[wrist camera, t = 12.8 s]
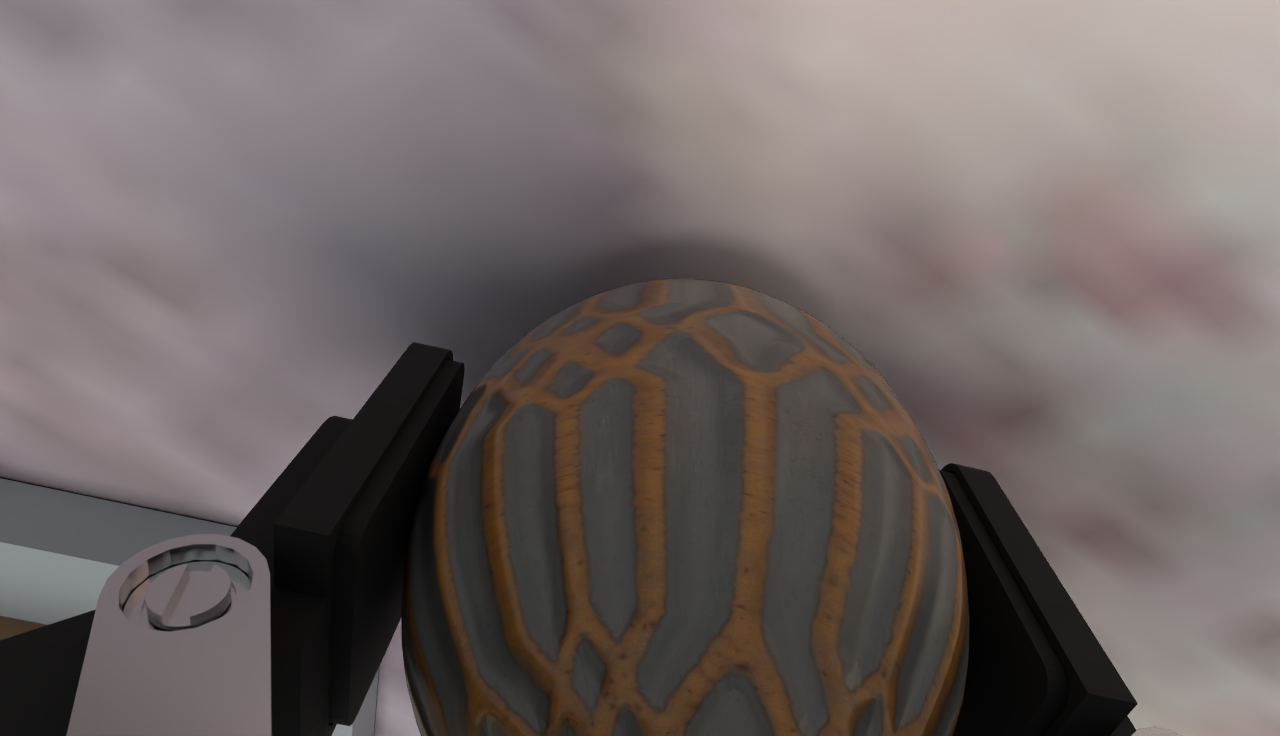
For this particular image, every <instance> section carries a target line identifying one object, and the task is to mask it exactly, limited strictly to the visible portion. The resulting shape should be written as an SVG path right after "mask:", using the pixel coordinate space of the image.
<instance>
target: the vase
mask: <svg viewBox="0 0 1280 736" xmlns="http://www.w3.org/2000/svg"><path fill="white" fill-rule="evenodd" d="M401 610H402V650H403V659H404V668H405V675H406V682H407V687H408V691H409V695H410V699H411V703H412V707H413V711H414V715H415V719H416V723H417V726H418V728H419V731H420V734H421V736H953V734H954V730H955V727H956V723H957V720H958V716H959V713H960V709H961V706H962V702H963V696H964V689H965V682H966V675H967V667H968V654H969V606H968V591H967V577H966V569H965V563H964V556H963V549H962V544H961V538H960V533H959V529H958V525H957V522H956V518H955V514H954V511H953V507H952V503H951V500H950V497H949V494H948V491H947V489H946V486H945V483H944V480H943V478H942V476H941V474H940V471H939V469H938V467H937V465H936V463H935V460H934V458H933V456H932V454H931V452H930V450H929V448H928V447H927V445H926V443H925V441H924V439H923V437H922V435H921V433H920V432H919V430H918V428H917V427H916V425H915V423H914V422H913V420H912V418H911V416H910V415H909V413H908V412H907V410H906V409H905V407H904V406H903V404H902V403H901V401H900V400H899V398H898V397H897V396H896V394H895V393H894V392H893V390H892V389H891V388H890V386H889V385H888V384H887V382H886V381H885V380H884V379H883V377H882V376H881V375H880V374H879V373H878V371H877V370H876V369H875V368H874V367H873V366H872V365H871V364H870V363H869V362H868V360H867V359H866V358H865V357H864V356H863V355H862V354H861V353H859V352H858V351H857V350H856V349H855V348H853V347H852V346H851V345H850V344H849V343H848V342H846V341H845V340H844V339H843V338H841V337H840V336H839V335H838V334H836V333H835V332H834V331H833V330H831V329H830V328H828V327H827V326H826V325H824V324H823V323H821V322H820V321H819V320H817V319H815V318H814V317H812V316H810V315H809V314H807V313H805V312H803V311H802V310H800V309H798V308H796V307H793V306H791V305H789V304H787V303H785V302H783V301H781V300H779V299H776V298H774V297H771V296H769V295H766V294H764V293H761V292H758V291H755V290H752V289H749V288H745V287H742V286H737V285H733V284H729V283H723V282H717V281H710V280H698V279H665V280H653V281H646V282H640V283H634V284H630V285H626V286H621V287H618V288H615V289H611V290H608V291H605V292H602V293H600V294H597V295H595V296H592V297H589V298H587V299H585V300H583V301H580V302H578V303H576V304H574V305H572V306H570V307H568V308H566V309H564V310H562V311H560V312H559V313H557V314H555V315H554V316H552V317H550V318H549V319H547V320H545V321H544V322H543V323H541V324H540V325H538V326H537V327H536V328H534V329H533V330H532V331H530V332H529V333H528V334H527V335H525V336H524V337H523V338H522V339H520V340H519V341H518V342H517V343H516V344H514V345H513V346H512V347H511V348H510V349H509V350H507V351H506V352H505V353H504V354H503V355H502V356H501V357H500V358H499V359H498V360H497V361H496V362H495V363H494V364H493V366H492V367H491V368H490V369H489V371H488V372H487V373H486V374H485V375H484V377H483V378H482V379H481V381H480V382H479V383H478V385H477V386H476V387H475V388H474V390H473V391H472V392H471V394H470V395H469V397H468V398H467V400H466V401H465V403H464V404H463V406H462V407H461V408H460V410H459V412H458V413H457V415H456V417H455V418H454V420H453V422H452V423H451V425H450V427H449V428H448V430H447V432H446V434H445V436H444V438H443V439H442V441H441V443H440V445H439V447H438V449H437V452H436V454H435V456H434V458H433V460H432V463H431V465H430V467H429V469H428V472H427V474H426V477H425V479H424V481H423V484H422V488H421V491H420V494H419V498H418V501H417V505H416V508H415V512H414V515H413V519H412V523H411V529H410V534H409V539H408V546H407V552H406V558H405V566H404V579H403V591H402V604H401Z"/></svg>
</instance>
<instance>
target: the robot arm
mask: <svg viewBox="0 0 1280 736" xmlns="http://www.w3.org/2000/svg"><path fill="white" fill-rule="evenodd" d="M463 378H464V363H460V362H456V361H453V353H452V351H451V350H447V349H442V348H438V347H433V346H429V345H425V344H420V343H416V342H413V343H412V344H411V345H410V346H409V347H408V348H407V350H406V351H405V352H404V354H403V355H402V356H401V358H400V359H399V360H398V361H397V363H396V364H395V365H394V367H393V368H392V369H391V371H390V372H389V373H388V375H387V376H386V377H385V378H384V380H383V381H382V382H381V384H380V385H379V386H378V388H377V389H376V390H375V392H374V393H373V394H372V395H371V397H370V398H369V399H368V401H367V402H366V403H365V405H364V406H363V407H362V409H361V410H360V411H359V412H358V414H357V415H356V416H355V418H354V419H353V420H351V419H347V418H342V417H338V416H333V417H329V418H328V419H327V420H326V421H325V422H324V423H323V424H322V425H321V427H320V428H319V429H318V430H317V431H316V433H315V434H314V435H313V436H312V437H311V439H310V440H309V441H308V442H307V443H306V445H305V446H304V447H303V448H302V449H301V451H300V452H299V453H298V454H297V456H296V457H295V458H294V459H293V460H292V462H291V463H290V464H289V465H288V466H287V468H286V469H285V470H284V471H283V472H282V474H281V475H280V476H279V477H278V479H277V480H276V481H275V482H274V483H273V485H272V486H271V487H270V488H269V489H268V491H267V492H266V493H265V494H264V495H263V497H262V498H261V499H260V500H259V501H258V503H257V504H256V505H255V506H254V508H253V509H252V510H251V511H250V512H249V514H248V515H247V516H246V517H245V518H244V520H243V521H242V522H241V523H240V524H239V526H238V527H237V528H236V529H235V531H234V532H233V533H232V534H231V535H230V536H225V535H220V534H193V535H188V536H183V537H178V538H173V539H168V540H166V541H163V542H160V543H158V544H155V545H153V546H150V547H148V548H145V549H143V550H142V551H140V552H139V553H137V554H135V555H134V556H132V557H131V558H129V559H127V560H126V561H124V562H123V563H122V564H121V565H120V566H119V567H118V568H117V569H116V570H115V571H114V572H113V573H112V574H111V575H110V576H109V577H108V578H107V580H106V582H105V585H104V587H103V589H102V591H101V593H100V595H99V598H98V602H97V606H96V609H95V610H92V611H89V612H86V613H83V614H80V615H77V616H74V617H71V618H68V619H65V620H62V621H58V622H55V623H52V624H49V625H46V626H43V627H40V628H37V629H34V630H31V631H28V632H25V633H21V634H18V635H15V636H12V637H9V638H6V639H3V640H0V736H332V734H333V732H334V730H335V727H336V725H337V724H340V725H345V726H351V725H352V724H353V722H354V721H355V719H356V717H357V715H358V713H359V710H360V708H361V706H362V704H363V701H364V699H365V697H366V695H367V692H368V690H369V688H370V686H371V684H372V681H373V679H374V677H375V675H376V672H377V670H378V668H379V666H380V663H381V661H382V659H383V657H384V655H385V652H386V650H387V648H388V646H389V643H390V641H391V639H392V637H393V634H394V632H395V630H396V628H397V625H398V623H399V621H400V619H401V617H402V610H401V604H402V591H403V579H404V566H405V558H406V552H407V546H408V539H409V534H410V529H411V523H412V519H413V515H414V512H415V508H416V505H417V501H418V498H419V494H420V491H421V488H422V484H423V481H424V479H425V477H426V474H427V472H428V469H429V467H430V465H431V463H432V460H433V458H434V456H435V454H436V452H437V449H438V447H439V445H440V443H441V441H442V439H443V438H444V436H445V434H446V432H447V430H448V428H449V427H450V425H451V423H452V422H453V420H454V418H455V417H456V415H457V413H458V412H459V410H460V402H461V394H462V386H463ZM939 471H940V474H941V476H942V478H943V480H944V483H945V486H946V489H947V491H948V494H949V497H950V500H951V503H952V507H953V511H954V514H955V518H956V522H957V525H958V529H959V533H960V538H961V544H962V549H963V556H964V563H965V569H966V577H967V591H968V606H969V654H968V667H967V675H966V682H965V689H964V696H963V702H962V706H961V709H960V713H959V716H958V720H957V723H956V727H955V730H954V734H953V736H1182V735H1180V734H1178V733H1175V732H1173V731H1171V730H1166V729H1161V728H1156V727H1147V728H1140V729H1138V730H1137V731H1136V729H1135V728H1134V726H1133V724H1132V723H1131V721H1130V719H1129V718H1128V716H1127V715H1128V714H1129V713H1130V712H1131V711H1132V710H1133V708H1134V707H1135V706H1136V705H1137V702H1136V700H1135V699H1134V697H1133V696H1132V694H1131V693H1130V691H1129V689H1128V688H1127V686H1126V685H1125V683H1124V682H1123V680H1122V678H1121V677H1120V675H1119V674H1118V672H1117V671H1116V669H1115V667H1114V666H1113V664H1112V663H1111V661H1110V659H1109V658H1108V656H1107V655H1106V653H1105V652H1104V650H1103V648H1102V647H1101V645H1100V644H1099V642H1098V641H1097V639H1096V637H1095V636H1094V634H1093V633H1092V631H1091V629H1090V628H1089V626H1088V625H1087V623H1086V622H1085V620H1084V618H1083V617H1082V615H1081V614H1080V612H1079V611H1078V609H1077V607H1076V606H1075V604H1074V603H1073V601H1072V599H1071V598H1070V596H1069V595H1068V593H1067V592H1066V590H1065V588H1064V587H1063V585H1062V584H1061V582H1060V581H1059V579H1058V577H1057V576H1056V574H1055V573H1054V571H1053V569H1052V568H1051V566H1050V565H1049V563H1048V562H1047V560H1046V558H1045V557H1044V555H1043V554H1042V552H1041V551H1040V549H1039V547H1038V546H1037V544H1036V543H1035V541H1034V539H1033V538H1032V536H1031V535H1030V533H1029V532H1028V530H1027V528H1026V527H1025V525H1024V524H1023V522H1022V521H1021V519H1020V517H1019V516H1018V514H1017V513H1016V511H1015V509H1014V508H1013V506H1012V505H1011V503H1010V502H1009V500H1008V498H1007V497H1006V495H1005V494H1004V492H1003V491H1002V489H1001V487H1000V486H999V484H998V483H997V481H996V479H995V478H994V476H993V475H992V474H991V473H990V472H987V471H984V470H979V469H975V468H970V467H966V466H961V465H957V464H953V463H951V464H948V465H946V466H945V467H944V468H943V469H942V470H939Z"/></svg>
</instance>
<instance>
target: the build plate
mask: <svg viewBox="0 0 1280 736" xmlns="http://www.w3.org/2000/svg"><path fill="white" fill-rule="evenodd" d="M236 528H237V527H233V526H228V525H223V524H218V523H213V522H209V521H204V520H199V519H194V518H189V517H184V516H180V515H175V514H170V513H165V512H160V511H156V510H151V509H146V508H141V507H136V506H132V505H127V504H122V503H117V502H112V501H107V500H103V499H98V498H93V497H88V496H83V495H79V494H74V493H69V492H64V491H59V490H54V489H50V488H45V487H40V486H35V485H30V484H26V483H21V482H16V481H11V480H6V479H1V478H0V616H4V617H10V618H15V619H20V620H25V621H31V622H36V623H41V624H47V625H49V624H52V623H55V622H58V621H62V620H65V619H68V618H71V617H74V616H77V615H80V614H83V613H86V612H89V611H92V610H95V609H96V606H97V602H98V598H99V595H100V593H101V591H102V589H103V587H104V585H105V582H106V580H107V578H108V577H109V576H110V575H111V574H112V573H113V572H114V571H115V570H116V569H117V568H118V567H119V566H120V565H121V564H122V563H123V562H124V561H126V560H127V559H129V558H131V557H132V556H134V555H135V554H137V553H139V552H140V551H142V550H143V549H145V548H148V547H150V546H153V545H155V544H158V543H160V542H163V541H166V540H168V539H173V538H178V537H183V536H188V535H193V534H220V535H225V536H230V535H231V534H232V533H233V532H234V531H235V529H236ZM378 675H379V668H378V670H377V672H376V675H375V677H374V679H373V681H372V684H371V686H370V688H369V690H368V692H367V695H366V697H365V699H364V701H363V704H362V706H361V708H360V710H359V713H358V715H357V717H356V719H355V721H354V722H353V724H352V725H351V726H345V725H340V724H337V725H336V727H335V730H334V732H333V734H332V736H374V726H375V713H376V701H377V688H378Z"/></svg>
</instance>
